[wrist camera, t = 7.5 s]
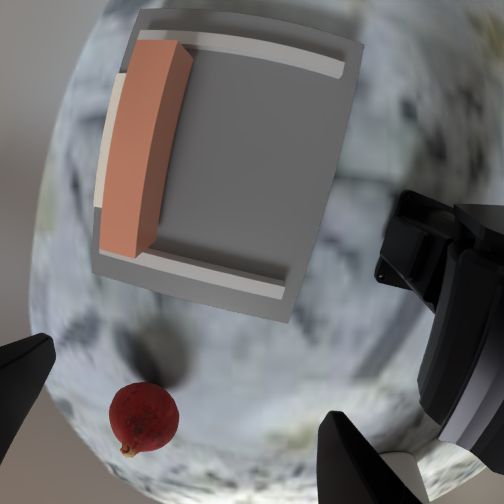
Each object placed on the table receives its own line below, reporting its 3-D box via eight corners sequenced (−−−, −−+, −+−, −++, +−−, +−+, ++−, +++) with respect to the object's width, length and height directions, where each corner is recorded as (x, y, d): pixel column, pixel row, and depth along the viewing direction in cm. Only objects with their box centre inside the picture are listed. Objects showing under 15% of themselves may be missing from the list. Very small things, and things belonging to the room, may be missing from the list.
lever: (193, 59, 12) (177, 40, 10) (156, 240, 16) (134, 258, 13) (158, 56, 12) (136, 39, 10) (124, 232, 16) (99, 248, 13)
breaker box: (352, 57, 14) (368, 40, 11) (285, 303, 20) (288, 330, 17) (154, 23, 14) (135, 4, 11) (109, 259, 20) (86, 277, 16)
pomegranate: (139, 352, 22) (100, 421, 15) (198, 385, 23) (178, 461, 15) (120, 386, 24) (87, 447, 16) (171, 415, 25) (150, 480, 17)
